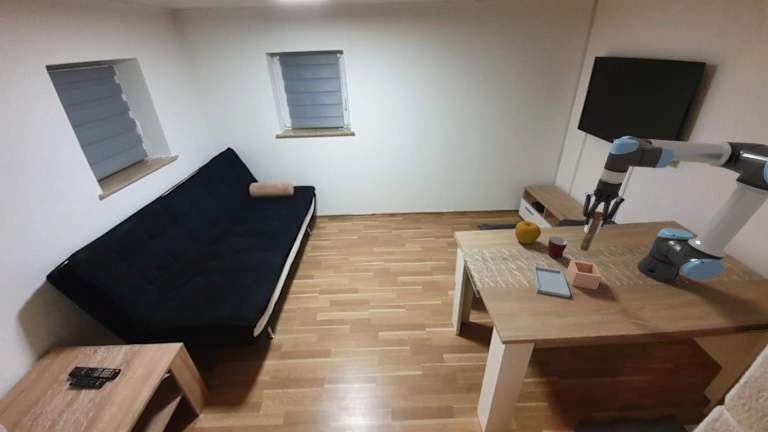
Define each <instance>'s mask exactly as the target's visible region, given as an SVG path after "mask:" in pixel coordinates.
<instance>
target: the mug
mask: <svg viewBox="0 0 768 432" xmlns="http://www.w3.org/2000/svg"><path fill="white" fill-rule="evenodd" d="M547 244H548V245H547V255H548V256H549V257H550V258H552V259H562V258H563V256H564V252H565V250H566V248H567V245H568V241H567V240H566V239H565V238H563V237H560V236H551V237H549V239H548V243H547Z"/></svg>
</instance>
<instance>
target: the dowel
mask: <svg viewBox="0 0 768 432" xmlns="http://www.w3.org/2000/svg"><path fill="white" fill-rule="evenodd" d="M602 212H603V211H599V210H596V211H595V213H594V214H593V216H592V219H593V221H592V223H591V226H590V228H589V231H588V233H586V232H585V234H584V237H583V239H582V241H581V244H580V250H581V251H584V252H587V251H589V249H590V246H591V244H592V241H593V239H594V236H595V235H596V234H595V232H596V229H597V227H598V224H599V222H600V219H601V218H602V214H603V213H602Z"/></svg>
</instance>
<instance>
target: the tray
mask: <svg viewBox="0 0 768 432" xmlns="http://www.w3.org/2000/svg"><path fill="white" fill-rule="evenodd" d="M531 273H532V276H533V282H534V287H535V291H536V294H538V295H539V293H540V294H546V295H551V296H557V297H558V296H559V297H564V298H571V296H572V294H571V292H570V289H569V286H568V283H567V280H566V277H565V274H564V271H563V270H562V269H557V268H552V267H545V266H539V265H532V267H531Z"/></svg>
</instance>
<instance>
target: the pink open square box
mask: <svg viewBox="0 0 768 432" xmlns="http://www.w3.org/2000/svg"><path fill="white" fill-rule="evenodd" d="M566 274H567V277H568V279H569V282H570V285H571V286H573V287H579V288H585V289H588V290H589V289H590V290H597V289H598V287H599V286H600V285H599V284H600V282H601V280H602V274H601V273H600V271H599V268H598V266H597V265H596V263H594V262H589V261H588V262H587V261H583V260H582V261H581V260H575V259H570V262H569V264H568V267H567V269H566Z"/></svg>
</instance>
